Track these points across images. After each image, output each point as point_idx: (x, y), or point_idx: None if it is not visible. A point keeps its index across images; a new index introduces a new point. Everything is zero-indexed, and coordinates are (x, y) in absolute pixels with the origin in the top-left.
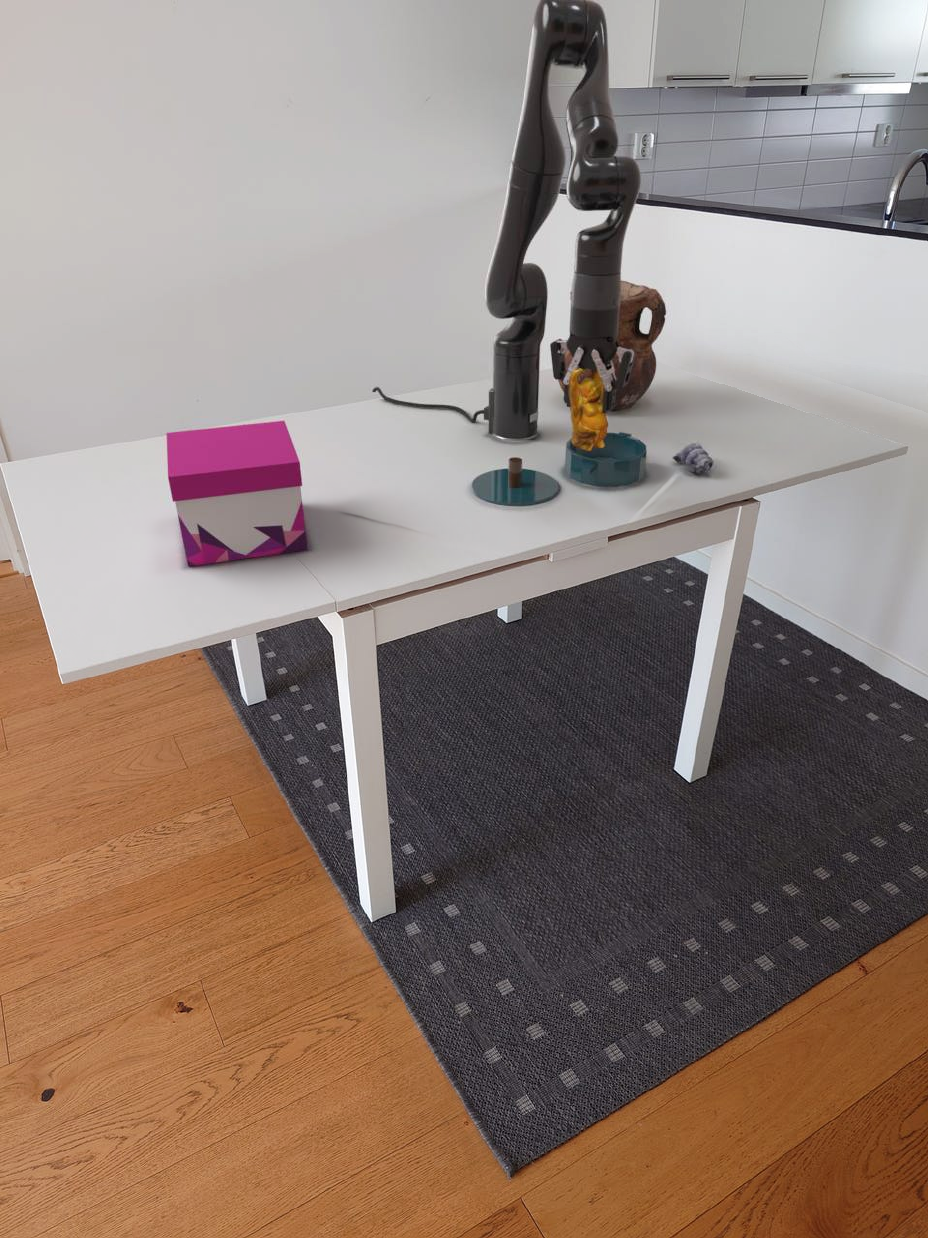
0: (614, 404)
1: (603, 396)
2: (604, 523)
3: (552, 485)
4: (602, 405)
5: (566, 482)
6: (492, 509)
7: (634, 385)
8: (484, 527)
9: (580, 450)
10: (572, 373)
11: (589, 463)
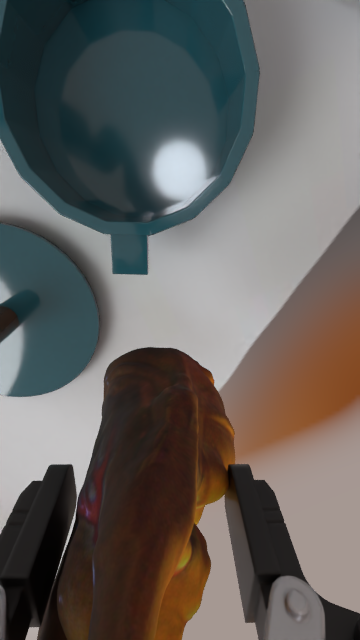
0: (275, 500)
1: (239, 584)
2: (225, 362)
3: (73, 284)
4: (215, 497)
5: None
6: (29, 399)
7: None
8: (60, 452)
9: (24, 54)
10: None
11: (129, 237)
